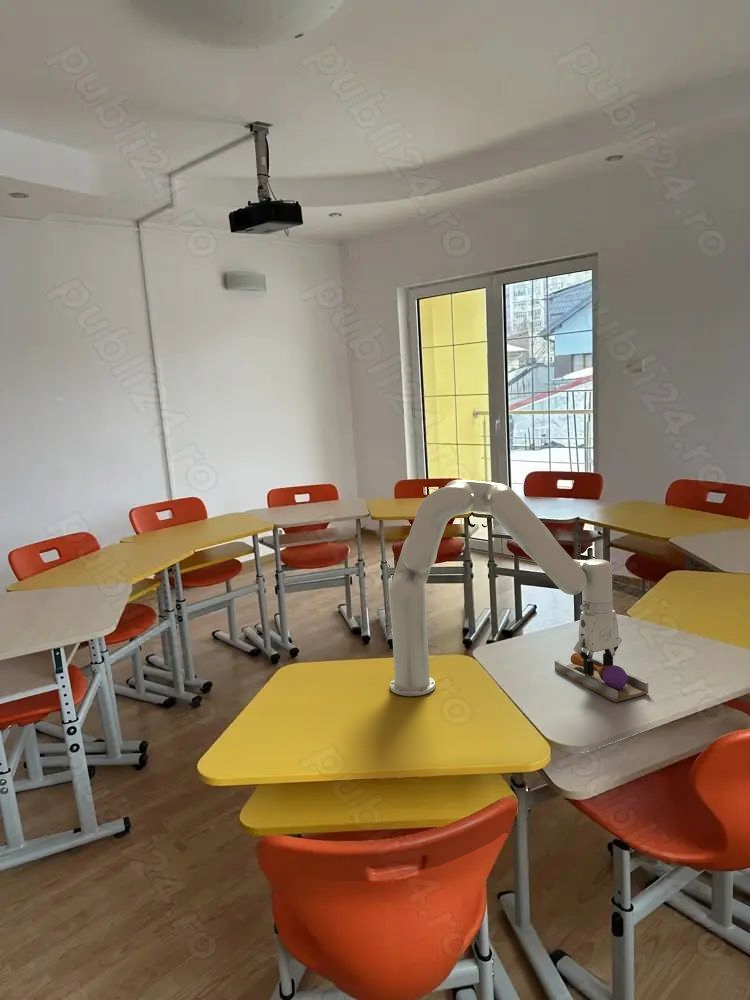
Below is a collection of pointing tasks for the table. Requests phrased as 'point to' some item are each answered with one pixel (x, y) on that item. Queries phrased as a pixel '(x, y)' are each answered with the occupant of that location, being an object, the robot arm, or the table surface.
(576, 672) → the rail cradle
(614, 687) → the kendama
